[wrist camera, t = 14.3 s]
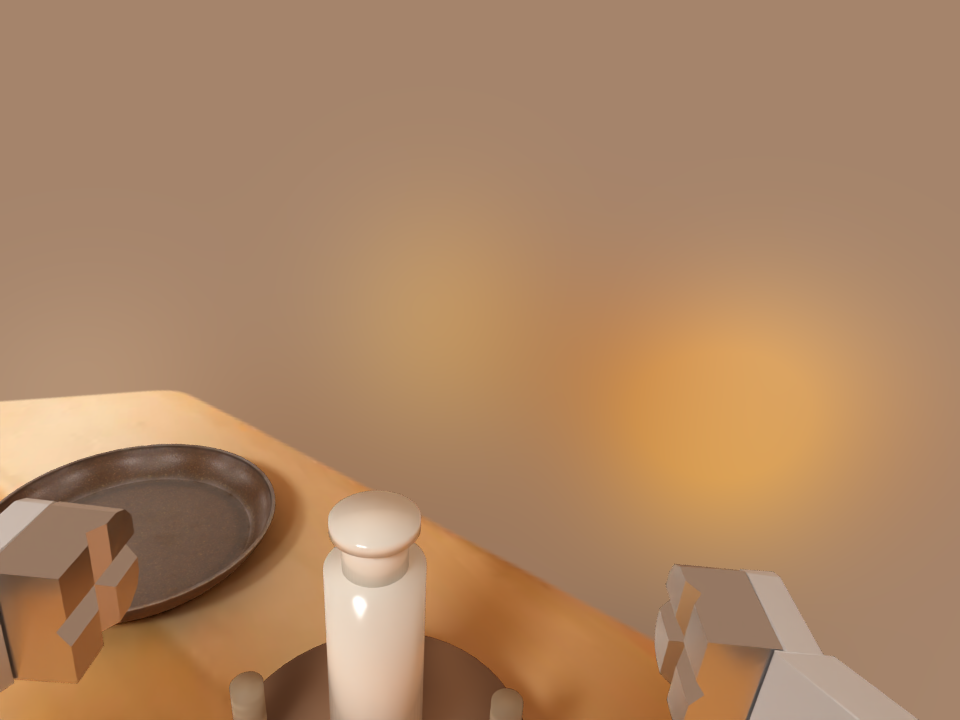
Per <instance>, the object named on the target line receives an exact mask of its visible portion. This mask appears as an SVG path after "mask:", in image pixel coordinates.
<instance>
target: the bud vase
mask: <svg viewBox="0 0 960 720" xmlns="http://www.w3.org/2000/svg"><path fill="white" fill-rule="evenodd" d="M420 531H421V512H420V510H419V508H418V506H417V505H416V504H415V503H414V502H413V501H412V500H411V499H409V498H408V497H405V496H404V495H401V494H398V493H395V492H390V491H378V490H376V491H365V492H360V493H356V494H353V495H351V496H348V497H346V498H344V499H343V500H341V501H340V502H338V503H337V504H336V505H335V506H334V507H333V508H332V510H331V511H330V513H329V517H328V533H329V537H330V540H331V542H332V543H333V544H334V545H335V547H334V548H333V549H332V550H331V551H330V553H329V554H328V555H327V557H326V559H325V561H324V565H323V578H324V600H325V621H326V642H327V663H328V684H329V706H330V720H422V708H423V673H424V637H425V602H426V566H427V563H426V558H425V555H424V553H423V551H422V550H421V548H420V547H419V546H418V545H417V544H416V543H414V542H415V541H416V540H417V539H418V537H419V535H420Z"/></svg>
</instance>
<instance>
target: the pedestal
mask: <svg viewBox="0 0 960 720" xmlns="http://www.w3.org/2000/svg"><path fill="white" fill-rule="evenodd" d="M229 690H230V697H231V705H232V713H233V720H330V706H329V684H328V663H327V643H325V644H322V645H320V646H317V647H315V648H313V649H311V650H309V651H307V652H305V653H303V654H301V655H299V656H297V657H296V658H294V659H293V660H291V661H290V662H288V663H286V664H285V665H283V666H282V667H281V668H279V669H278V670H277V671H276V672H274V673H273V674H272V675H271V676H269V677H268V678H267V679H266V680H265V681H264V682H263V678H262V676H261V675H260V674H259V673H256V672H251V671H250V672H244V673H241V674H239V675H238V676H236V677H235V678H234V679H233V680H232V682H231V683H230V687H229ZM522 712H523V699H522V697H521V695H520V694H519V693H518V692H517V691H515V690H513V689H509V688H506V687H505V686H504V685H503V683H502V682H501V681H500V680H499V679H498V678H497V677H496V675H495V674H494V673H493V672H492V671H491V670H490V669H489V668H487V667H486V666H485V665H484V664H482V663H481V662H480V661H479V660H477V659H476V658H475V657H473V656H471V655H470V654H468V653H467V652H465V651H463V650H462V649H460V648H457V647H455V646H453V645H451V644H449V643H447V642H444V641H441V640H438V639H435V638H432V637H427V636H425V637H424V673H423V708H422V720H523V719H522Z"/></svg>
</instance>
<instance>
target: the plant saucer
mask: <svg viewBox="0 0 960 720" xmlns="http://www.w3.org/2000/svg"><path fill="white" fill-rule="evenodd" d="M24 498H31V499H40V500H49V501H55V502H59V501H61V502H69V503H77V504H85V505H93V506H102V507H110V508H118V509H125V510H126V511H127V512H129V513H130V514H131V515H132V521H133V527H134V534H133V535H132V537H131V538H130V539H129V541H128V542H127V543H126V545H127V546H128V547H129V548H130V549H131V550H132V551H133V553H134V554H135V555H136V556H137V557H138V566H139V575H138V585H137V589H136V592H135V594H134V597H133V600H132V603H131V606H130V607H129V609H128V610H127V612H126V614H125V615H124V617H123V618H122V620H121V621H120V622H118V623H121V622H126V621H131V620H136V619H140V618H145V617H148V616H151V615H155V614H158V613H161V612H164V611H166V610H169V609H172V608H174V607H176V606H179V605H181V604H183V603H185V602H188V601H190V600H191V599H193V598H195V597H197V596H199V595H201V594H203V593H204V592H206V591H208V590H209V589H211V588H212V587H214V586H215V585H217V584H218V583H219V582H221V581H222V580H224V579H225V578H226V577H227V576H229V575H230V574H231V573H232V572H233V571H234V570H236V569H237V568H238V567H239V566H240V565H241V564H242V563H243V562H244V561H245V560H246V559H247V557H248V556H249V555H250V554H251V553H252V552H253V550H254V549H255V548H256V547H257V545H258V544H259V542H260V541H261V540H262V538H263V536H264V535H265V533H266V531H267V529H268V527H269V526H270V524H271V521H272V518H273V515H274V511H275V494H274V489H273V487H272V484H271V482H270V481H269V479H268V478H267V476H266V475H265V474H264V472H263V471H262V470H260V469H259V468H258V467H257V466H256V465H255V464H253V463H251V462H250V461H248V460H246V459H245V458H243V457H241V456H238V455H236V454H233V453H230V452H228V451H224V450H221V449H216V448H211V447H205V446H198V445H186V444H156V445H148V446H136V447H130V448H124V449H118V450H114V451H109V452H105V453H101V454H97V455H93V456H90V457H87V458H83V459H80V460H77V461H74V462H71V463H69V464H66V465H63V466H61V467H58V468H56V469H54V470H51V471H49V472H47V473H45V474H43V475H41V476H39V477H37V478H35V479H33V480H32V481H30V482H28V483H26V484H25V485H23V486H21V487H20V488H18V489H17V490H15V491H14V492H12V493H11V494H9V495H8V496H7V497H5V498H4V499H3V500H2V501H0V514H1V513H2V512H3V511H4V510H5V509H6V508H8V507H9V506H10V505H11V504H12V503H13V502H14V501H17V500H20V499H24Z"/></svg>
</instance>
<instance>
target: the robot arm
mask: <svg viewBox="0 0 960 720" xmlns="http://www.w3.org/2000/svg"><path fill="white" fill-rule="evenodd" d="M133 534H134V527H133V521H132V515H131V514H130V513H129V512H127V511H126V510H125V509H118V508H110V507H102V506H93V505H85V504H77V503H69V502H61V501H59V502H55V501H49V500H40V499H31V498H24V499H20V500H17V501H14V502H13V503H12V504H11V505H10V506H9V507H8V508H6V509H5V510H4V511H3V512H2V513H1V514H0V692H1V691H3V690H4V689H6V688H7V687H9V686H10V685H12V684H13V683H14V679H15V680H30V681H46V682H61V683H76V684H78V682H79V681H80V679H81V678H82V677H83V675H84V674H85V672H86V671H87V669H88V668H89V666H90V665H91V664H92V662H93V661H94V659H95V658H96V656H97V655H98V653H99V652H100V650H101V649H102V648H103V646H104V643H103V636H102V632H103V631H105V630H106V629H108V628H110V627H112V626H113V625H115V624H117V623H118V622H120V621H121V620H122V618H123V617H124V615H125V614H126V612H127V610H128V609H129V607H130V606H131V603H132V600H133V597H134V594H135V592H136V589H137V585H138V575H139V566H138V557H137V556H136V555H135V554H134V553H133V551H132V550H131V549H130V548H129V547H128V546H127V545H126V543H127V542H128V541H129V539H130V538H131V537H132V535H133ZM666 588H667V591H668V594H669V598H670V600H669V601H668V602H666V603H665V604H664V605H663V606H662V607H660V608H659V613H658V617H657V621H656V626H655V652H656V660H657V664H658V668H659V672H660V674H661V675H662V676H663V677H664V678H665V679H666V680H667V681H668V682H669V683H670V684H671V686H670V689H669V693H668V697H667V702H668V706H669V710H670V713H671V717H672V720H918V719H917V718H916V717H914V716H913V715H912V714H910V713H909V712H908V711H906V710H905V709H904V708H902V707H901V706H900V705H898V704H897V703H896V702H894V701H893V700H892V699H890V698H889V697H888V696H886V695H885V694H884V693H882V692H881V691H880V690H878V689H877V688H876V687H874V686H873V685H872V684H870V683H869V682H868V681H866V680H865V679H864V678H862V677H861V676H860V675H858V674H857V673H856V672H854V671H853V670H852V669H851V668H849V667H848V666H847V665H845V664H844V663H842V662H841V661H840V660H839V659H837V658H836V657H835V656H826V655H823V653H822V651H821V649H820V648H819V646H818V644H817V642H816V640H815V639H814V637H813V635H812V633H811V631H810V629H809V628H808V626H807V624H806V622H805V621H804V619H803V617H802V615H801V613H800V612H799V610H798V608H797V606H796V604H795V603H794V601H793V599H792V597H791V596H790V594H789V592H788V590H787V588H786V587H785V585H784V583H783V581H782V579H781V578H780V576H778V575H777V574H776V573H775V572H772V571H758V570H744V569H740V570H732V569H721V568H711V567H700V566H690V565H679V564H674V565H673V566H672V568H671V570H670V571H669V575H668V578H667V582H666Z"/></svg>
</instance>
